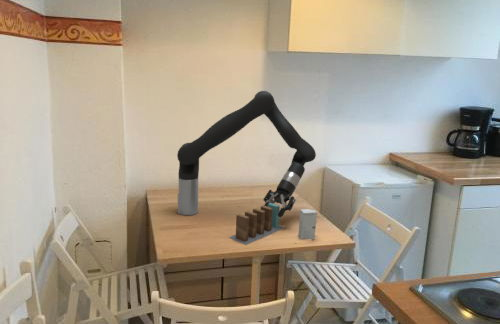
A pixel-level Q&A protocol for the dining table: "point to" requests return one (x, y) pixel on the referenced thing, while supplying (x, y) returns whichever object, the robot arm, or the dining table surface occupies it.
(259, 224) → the domino
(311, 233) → the skincare box
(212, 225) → the dining table surface
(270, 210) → the domino
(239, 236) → the domino
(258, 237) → the domino mat
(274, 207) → the domino
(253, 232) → the domino
